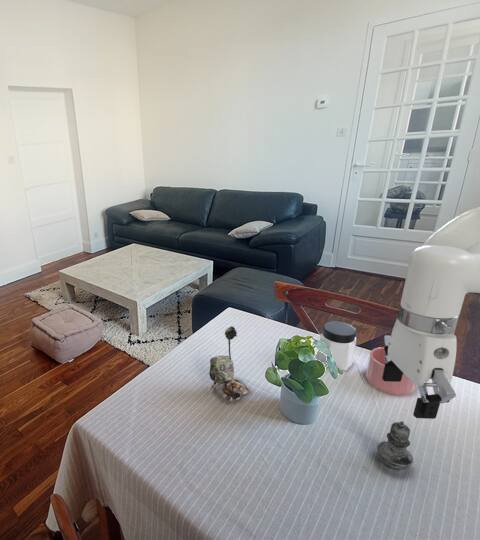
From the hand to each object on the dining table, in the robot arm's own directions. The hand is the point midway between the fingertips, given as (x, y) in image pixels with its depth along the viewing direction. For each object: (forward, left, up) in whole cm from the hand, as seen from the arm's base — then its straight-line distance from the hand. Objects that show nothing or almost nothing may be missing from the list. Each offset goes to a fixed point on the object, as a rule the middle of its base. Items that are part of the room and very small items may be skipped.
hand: (406, 397), depth 64 cm
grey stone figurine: (0, 0, -18) cm, 18 cm away
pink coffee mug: (-15, -26, -18) cm, 35 cm away
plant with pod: (+30, -21, -18) cm, 41 cm away
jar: (-3, -35, -18) cm, 40 cm away
